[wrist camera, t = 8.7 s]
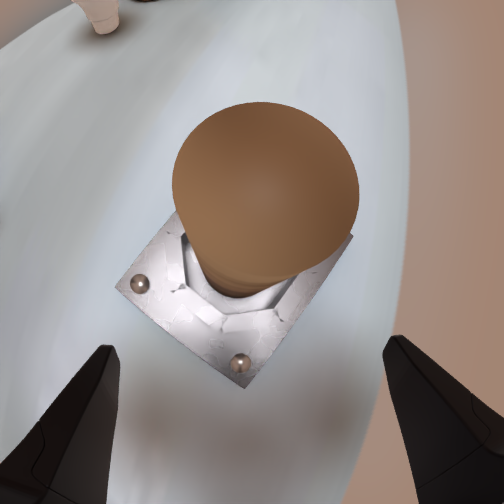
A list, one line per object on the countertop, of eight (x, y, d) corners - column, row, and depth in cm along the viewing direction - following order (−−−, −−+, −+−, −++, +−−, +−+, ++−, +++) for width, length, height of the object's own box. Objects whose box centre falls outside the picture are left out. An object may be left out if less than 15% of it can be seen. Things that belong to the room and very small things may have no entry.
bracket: (243, 385, 19) (248, 399, 16) (119, 288, 19) (100, 283, 16) (347, 239, 22) (370, 226, 18) (233, 152, 22) (236, 126, 18)
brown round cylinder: (236, 313, 19) (267, 319, 7) (186, 259, 19) (134, 174, 7) (288, 263, 20) (390, 190, 7) (239, 212, 20) (269, 77, 8)
